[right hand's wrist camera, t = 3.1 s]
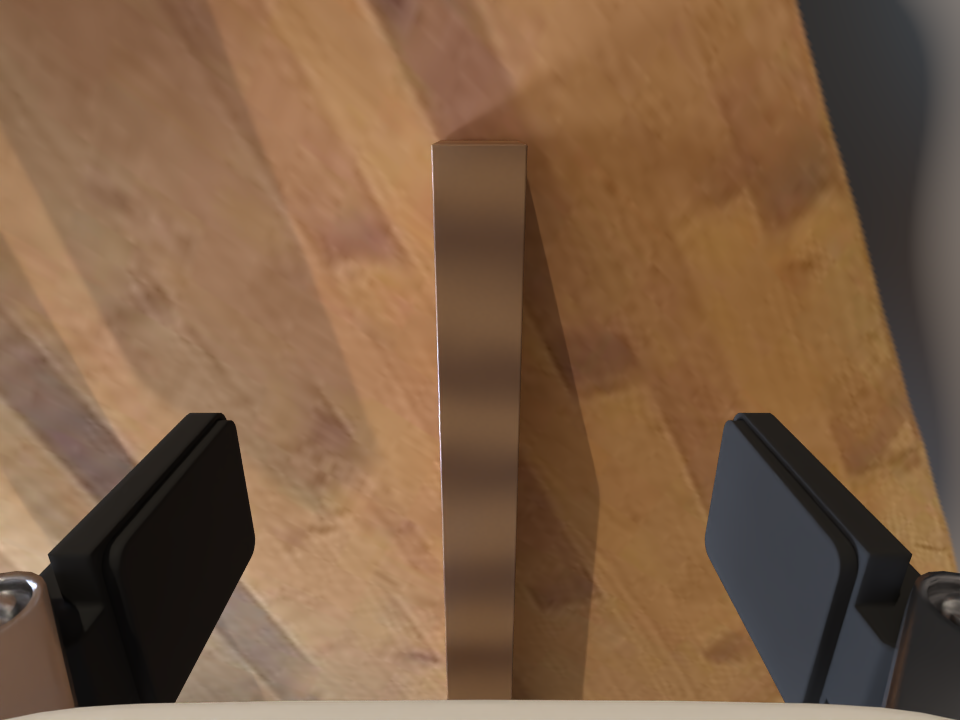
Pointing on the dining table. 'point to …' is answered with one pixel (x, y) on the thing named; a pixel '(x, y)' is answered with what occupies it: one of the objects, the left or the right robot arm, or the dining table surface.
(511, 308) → the beam
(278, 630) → the dining table surface
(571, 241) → the dining table surface
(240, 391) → the dining table surface
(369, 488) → the dining table surface
